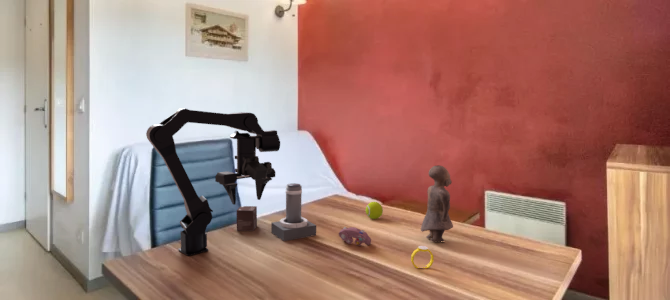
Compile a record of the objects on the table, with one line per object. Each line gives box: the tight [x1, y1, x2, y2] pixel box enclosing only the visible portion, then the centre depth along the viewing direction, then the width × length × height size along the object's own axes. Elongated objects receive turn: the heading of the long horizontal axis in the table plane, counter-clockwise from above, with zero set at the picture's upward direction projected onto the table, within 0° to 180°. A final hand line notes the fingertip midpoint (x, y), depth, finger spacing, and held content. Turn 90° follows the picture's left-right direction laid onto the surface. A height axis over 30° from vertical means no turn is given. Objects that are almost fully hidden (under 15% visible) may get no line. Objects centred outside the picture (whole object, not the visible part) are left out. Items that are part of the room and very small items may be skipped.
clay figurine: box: [420, 165, 454, 243], centre depth 131 cm, size 13×10×25 cm
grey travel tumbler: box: [285, 183, 303, 223], centre depth 136 cm, size 5×5×14 cm
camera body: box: [270, 216, 317, 242], centre depth 136 cm, size 12×10×5 cm
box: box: [236, 205, 258, 232], centre depth 142 cm, size 6×6×7 cm
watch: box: [410, 245, 435, 269], centre depth 110 cm, size 6×3×6 cm, turn 96°
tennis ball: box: [365, 201, 384, 220], centre depth 157 cm, size 7×7×7 cm
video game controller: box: [338, 226, 372, 247], centre depth 127 cm, size 10×5×7 cm
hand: (246, 201), depth 127 cm, fingers open, 9 cm apart
